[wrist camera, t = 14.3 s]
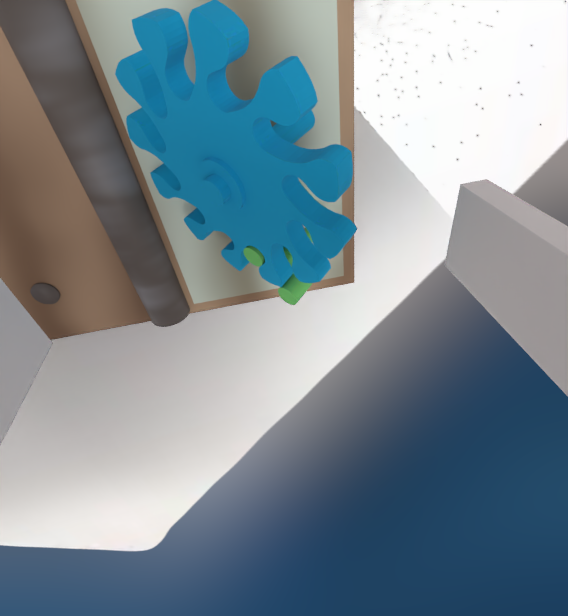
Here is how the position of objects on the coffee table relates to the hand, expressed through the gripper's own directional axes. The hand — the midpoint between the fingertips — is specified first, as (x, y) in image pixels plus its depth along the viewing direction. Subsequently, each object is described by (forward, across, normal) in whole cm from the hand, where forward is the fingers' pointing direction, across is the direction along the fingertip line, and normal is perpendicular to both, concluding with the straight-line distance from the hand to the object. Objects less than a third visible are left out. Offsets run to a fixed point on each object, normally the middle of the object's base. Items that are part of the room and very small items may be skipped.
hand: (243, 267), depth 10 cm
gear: (+9, -2, 0) cm, 9 cm away
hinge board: (+10, -6, 0) cm, 11 cm away
